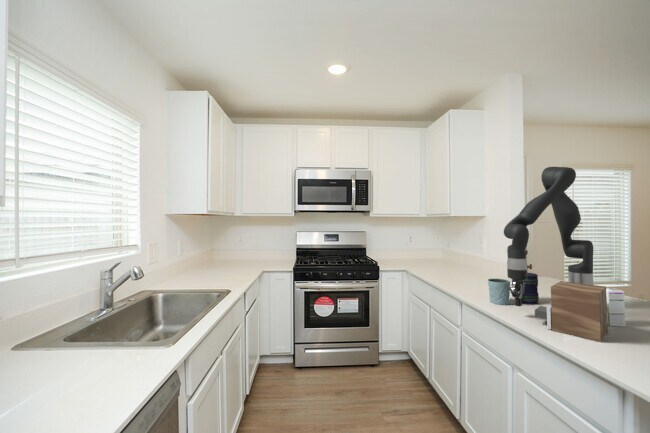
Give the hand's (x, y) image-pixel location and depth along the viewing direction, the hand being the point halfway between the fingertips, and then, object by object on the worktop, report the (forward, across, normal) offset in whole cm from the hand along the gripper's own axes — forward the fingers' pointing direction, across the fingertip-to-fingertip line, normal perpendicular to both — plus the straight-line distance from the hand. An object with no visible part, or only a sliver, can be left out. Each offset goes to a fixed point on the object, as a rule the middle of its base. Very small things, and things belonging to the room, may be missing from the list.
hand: (518, 305), depth 129 cm
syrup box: (+6, +19, -28) cm, 34 cm away
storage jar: (+6, +28, +5) cm, 29 cm away
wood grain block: (+5, -1, -21) cm, 22 cm away
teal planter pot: (+5, +16, +14) cm, 22 cm away
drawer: (+4, -1, -17) cm, 18 cm away
